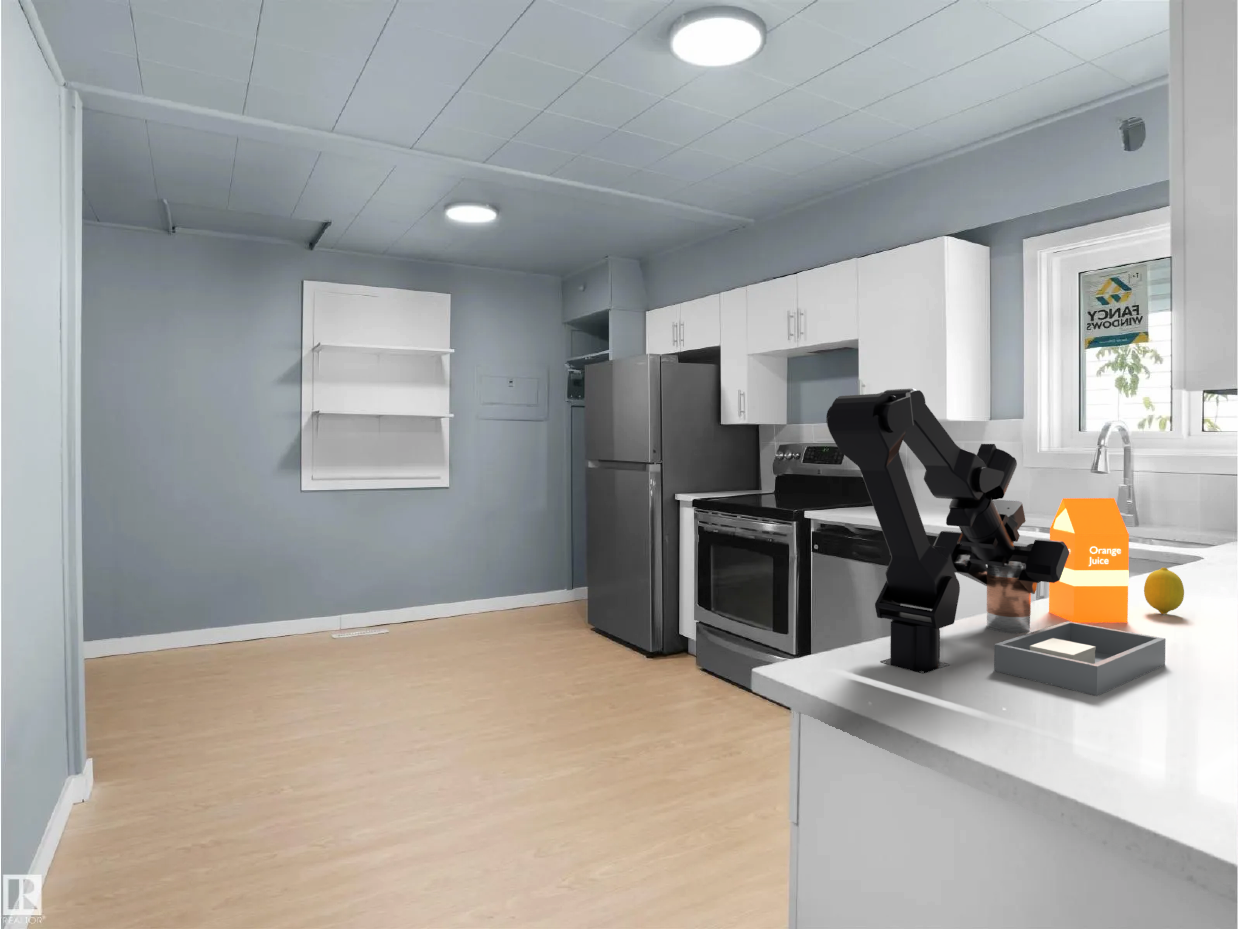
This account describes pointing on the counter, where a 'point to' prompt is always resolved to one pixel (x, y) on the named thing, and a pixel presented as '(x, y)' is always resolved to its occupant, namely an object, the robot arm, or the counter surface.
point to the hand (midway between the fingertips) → (1012, 588)
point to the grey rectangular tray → (1113, 666)
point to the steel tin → (1007, 599)
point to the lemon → (1164, 590)
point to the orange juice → (1091, 562)
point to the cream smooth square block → (1066, 650)
